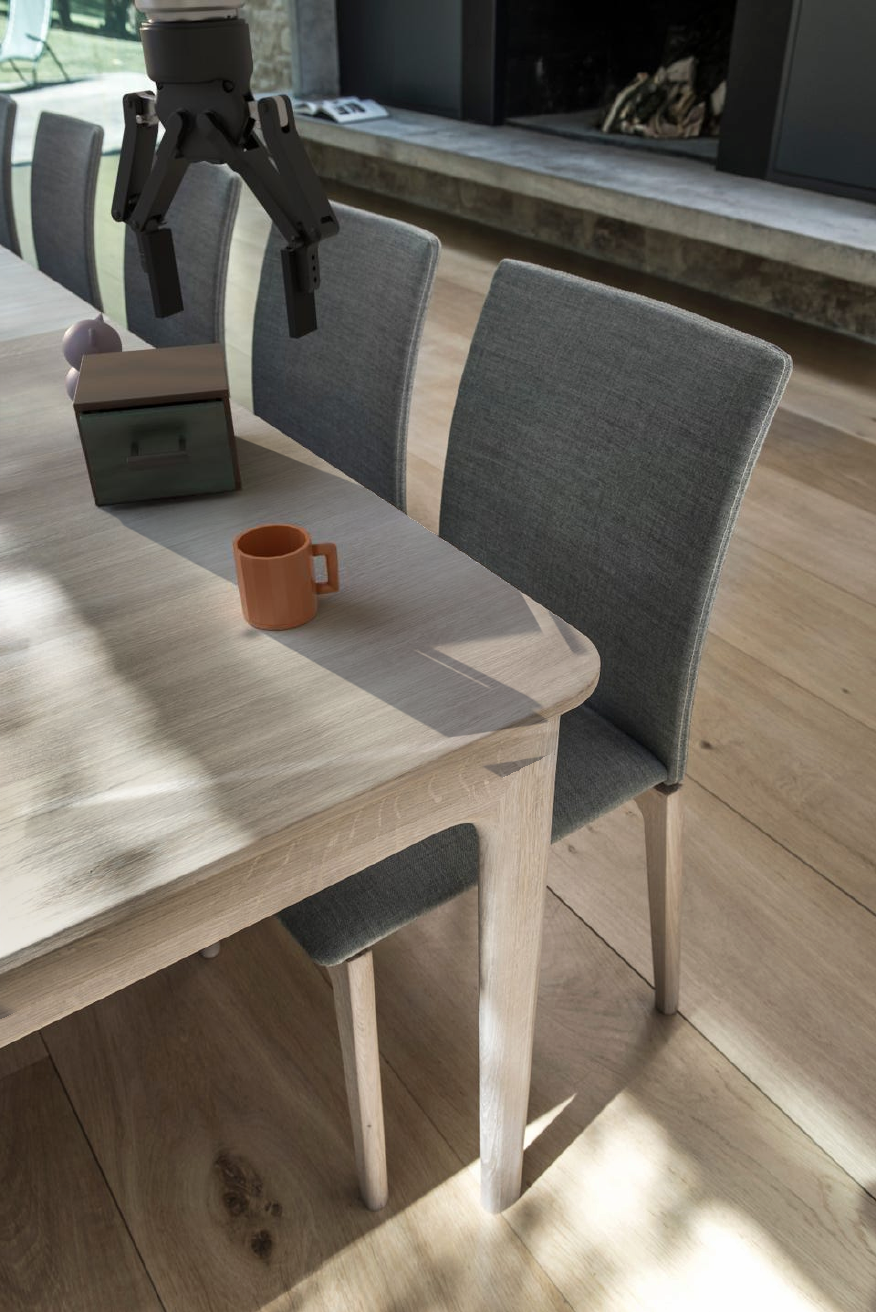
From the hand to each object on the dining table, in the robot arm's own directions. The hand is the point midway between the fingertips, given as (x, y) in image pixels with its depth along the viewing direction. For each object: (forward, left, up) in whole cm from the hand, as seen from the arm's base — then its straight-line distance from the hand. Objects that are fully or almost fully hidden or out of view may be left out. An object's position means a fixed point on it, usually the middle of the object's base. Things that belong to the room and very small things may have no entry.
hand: (234, 324), depth 85 cm
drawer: (-9, +17, -20) cm, 28 cm away
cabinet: (-9, +22, -21) cm, 31 cm away
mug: (0, -11, -21) cm, 23 cm away
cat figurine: (-16, +38, -21) cm, 46 cm away
